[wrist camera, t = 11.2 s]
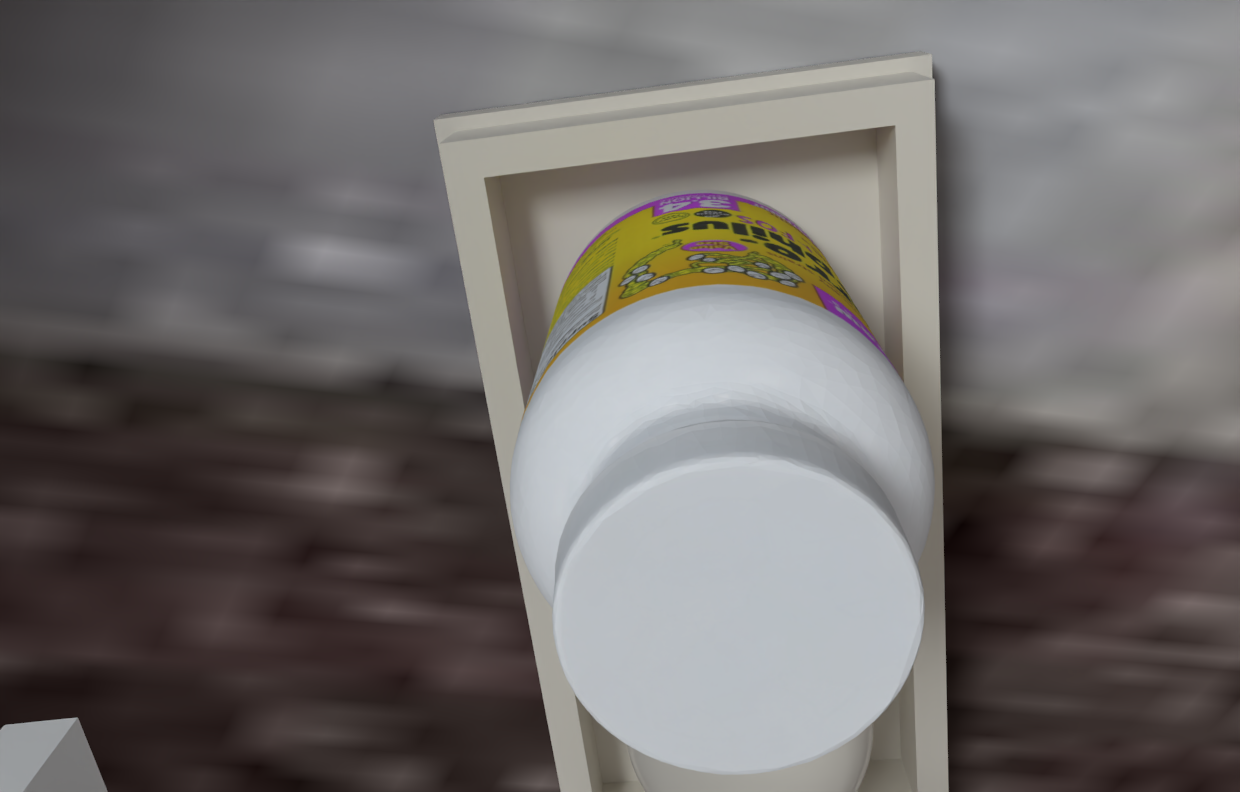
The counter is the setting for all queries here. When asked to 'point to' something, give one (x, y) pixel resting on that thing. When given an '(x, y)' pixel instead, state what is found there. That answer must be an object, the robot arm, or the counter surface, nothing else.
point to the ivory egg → (806, 788)
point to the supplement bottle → (722, 491)
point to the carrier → (746, 165)
